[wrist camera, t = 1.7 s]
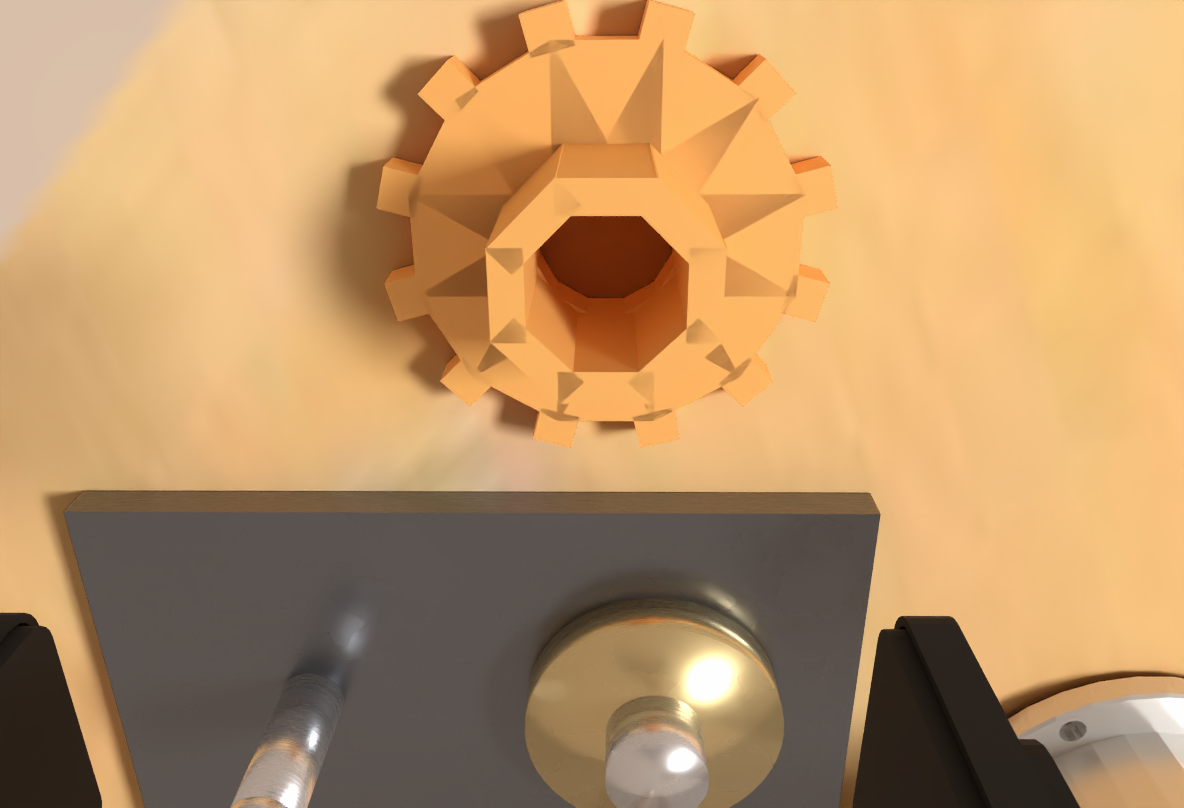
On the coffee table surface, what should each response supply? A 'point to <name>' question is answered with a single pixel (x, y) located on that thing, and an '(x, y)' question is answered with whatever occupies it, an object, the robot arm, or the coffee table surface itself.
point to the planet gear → (606, 188)
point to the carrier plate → (480, 645)
